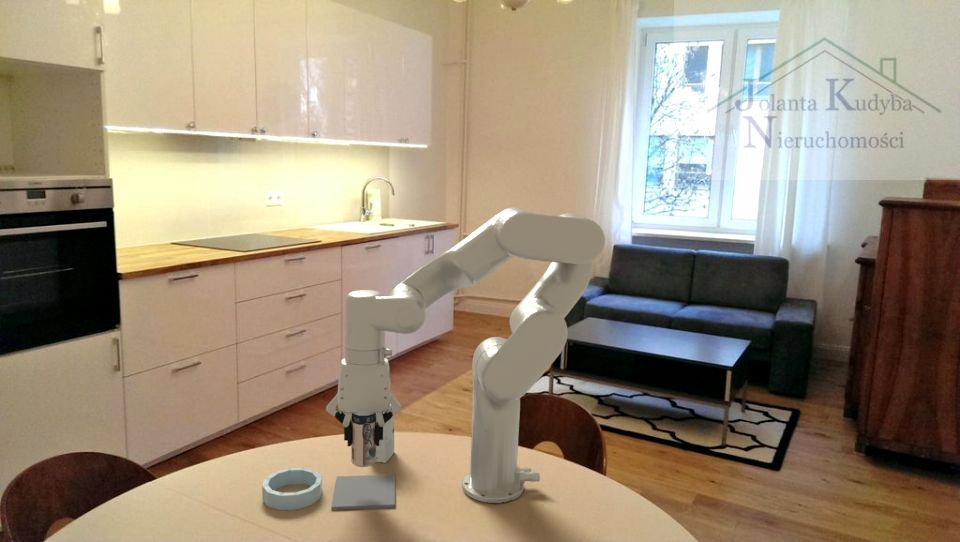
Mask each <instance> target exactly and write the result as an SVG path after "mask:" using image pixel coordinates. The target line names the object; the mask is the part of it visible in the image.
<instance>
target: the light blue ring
mask: <svg viewBox="0 0 960 542" xmlns="http://www.w3.org/2000/svg"><path fill="white" fill-rule="evenodd" d="M288 485H306V486H309V487H308V488H306V489H302V490H299V491H296V492H281V491H277V489H278V488H281V487H284V486H288ZM261 488H262V492H261V493H262V495H261V497H262V501H263V503H264V504H265V505H266V506H267V507H268V508H272V509H275V510H279V511H296V510H300V509H304V508H306V507H309V506H312V505H314V504H315V503H317V501H319V500H320V499H321V498H322V493H323V476H322V475H321V474H320V473H319V472H318V471H317V470H314V469H310V468H306V467H289V468H284V469H281V470H278V471H274V472H273V473H271V474H270V475H268V476H266V477H265V478H264V479H263V483H262V486H261Z"/></svg>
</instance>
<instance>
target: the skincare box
mask: <svg viewBox="0 0 960 542" xmlns="http://www.w3.org/2000/svg"><path fill="white" fill-rule="evenodd" d="M391 408H392V405H391V404H390V408H389V409H391ZM385 412H386V411H385ZM385 412H383V413H385ZM376 422H377V417H376ZM394 452H395V415H394V416H392V418H391V419H390V420H388V421H387V422H386V423H385V425H384V426H383V440H379V446H377V445H376V461H375V463H381V462H382V463H383V464H386V463H387V462H388V461H389V459H391V458H392V456H393V454H394Z"/></svg>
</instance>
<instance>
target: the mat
mask: <svg viewBox="0 0 960 542" xmlns="http://www.w3.org/2000/svg"><path fill="white" fill-rule="evenodd" d="M395 481H396V475H395V474H369V475H341V476H340V475H339V476H338V475H337V476H336V478H335V485H334V488H333V489H334V490H333V496H332V501H331V508H330V509H331V510H332V511H335V510H336V511H337V510H357V509H358V510H359V509H360V510H361V509H362V510H363V509H364V510H365V509H384V508H385V509H386V508H396V482H395Z"/></svg>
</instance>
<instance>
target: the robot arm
mask: <svg viewBox="0 0 960 542" xmlns="http://www.w3.org/2000/svg"><path fill="white" fill-rule="evenodd" d="M605 237H606V236H605V234H604V231H603V229H602V227H601V226H600V225H599V223H597V222H596V221H594V220H593V219H590V218H589V217H586V216H583V215H581V214H577V213H573V212H566V213H563V214H560V215H551V214H542V213H535V212H531V211H527V210H525V209H523V208H519V207H508V208H506V209H503V210H502V211H500V212H499V213H497V214H496V215H494V216H493V217H492V218H490V219H489V220H487V222H485V223H483V224H482V225H481V226H480V227H478V228H477V229H475V230H474V231H473V232H472V233H471V234H469V235H468V236H467V237H465V238H464V239H462V240H461V241H460V242H458V243H457V244H456V245H453V247H451V248H450V249H449V250H446V251H444V252H443V253H442V254H441V255H438V257H436V258H435V259H433V260H431V261H429V262H428V263H426V264H424V265H423V266H422V267H420V268H418V270H416V271H414V272H413V273H412V274H410V275H409V276H408V277H407V278H406V279H404V280H402V281H401V282H400V283H399V284H397V285H396V286H395V287H394V288H393V289H392V290H391V291H390V292H389V294H388V296H385V295H384V294H383V293H382V292H380V291H377V290H372V289H359V290H354V291H351V292H349V293H348V294H347V295H346V297H345V303H344V304H345V307H344V309H345V310H344V311H345V317H344V319H345V320H344V322H345V324H344V333H345V334H344V335H345V336H344V337H345V338H344V358H342V359H341V362H340V366H339V372H338V381H337V382H338V383H337V384H338V385H337V393H336V395H335V396H334V397H333V398H332V399H331V400H330V402H329V403H328V404H327V405H326V408H325V411H326V412H327V413H329V414H330V415H331V416H333V417H335V419H336V420H337V421H338V422H339V423H340V424H341V425H342V426H343V431H344V432H343V440H344V441H347V447H351V444H352V413H358V412H371V413H376V417H377V422H376V445H377V446H379V440H383V426H384V425H385V423H386V422H387V421H388V420H390V419H391V418H392V416H394V417H395V415H397V414H398V413H399V412H401V411H402V404H400V402H399V401H398V400H397V398H396V397H395V396H394V395H393V393H392V391H391V389H392V388H391V384H392V383H391V369H390V362H389V359H388V358H387V357H389V356H392V355H393V349H392V348H388V347H387V346H385V343H386V339H385V338H386V332H387V333H388V332H389V333H394V334H400V335H401V334H403V335H409V334H413V333H416V332H418V331H419V330H420V329H422V328H423V325H425V322H426V318H427V312H426V309H428V308H430V306H432V305H433V304H434V303H436V302H437V301H439V300H440V299H441V298H443V297H445V296H446V295H448V294H449V293H451V292H452V293H453V292H454V291H457V290H460V289H464V288H471V287H474V286H476V285H479V284H480V283H481V282H483V281H484V280H485V279H486V278H488V277H489V276H490V275H492V274H493V273H494V272H496V271H497V270H498V269H500V268H501V267H502V266H505V264H506V263H508V262H509V261H511V260H512V259H513V258H518V259H523V260H531V261H539V262H548V263H549V264H548V267H547V269H546V270H545V271H544V273H543V275H541V278H539V280H538V281H537V282H536V283H535V284H534V286H533V287H532V288H531V289H530V291H528V292H527V294H526V295H525V296H524V298H523V299H522V300H521V301H520V302H519V303H518V304H517V306H516V307H515V308H514V309H513V310H512V312H511V315H510V317H509V327H510V331H511V334H510V335H509V337H508V338H507V339H506V338H504V337H503V336H493V337H492V336H491V337H488V338H487V339H484V340H482V341H481V342H480V343H479V345H477V346H476V349H475V350H474V353H473V357H472V364H471V374H472V377H471V379H472V412H471V413H472V414H471V416H472V417H471V440H470V441H471V442H470V443H471V445H470V467H469V468H470V472H469V473H468V474H467V475H465V476H464V477H463V479H462V484H461V485H462V490H463V492H464V493H465V494H466V496H468V497H469V498H472V499H474V500H476V501H477V502H478V501H479V502H482V503H487V502H488V504H489V503H490V504H503V503H502V502H504V503H508V501H509V502H511V501H510V500H512V501H514V500H516V499H517V498H519V497H520V496H522V494H523V492H524V489H525V487H524V485H525V483H526V482H531V483H534V482H540V480H541V474H540V472H539V471H532V468H531V467H520V466H519V465H518V454H519V453H518V450H519V434H520V433H519V431H520V429H519V428H520V415H521V414H520V412H521V398H522V397H523V396H525V394H526V393H528V392H529V391H530V390H531V388H533V386H534V385H536V383H537V382H538V380H540V378H541V377H542V376H543V374H544V373H546V372H547V370H548V369H549V368H550V367H551V365H552V364H553V363H554V362H555V361H556V359H557V358H558V357H559V355H561V352H562V351H563V349H564V348H565V345H566V343H567V340H568V334H569V333H568V332H569V331H568V326H567V322H566V320H565V318H566V317H567V315H568V314H569V313H570V311H572V309H573V308H574V306H575V305H576V304H577V303H578V301H579V300H580V299H581V298H582V296H583V294H584V293H585V291H586V289H587V287H588V286H589V283H590V281H591V278H592V272H593V261H594V260H596V259H597V258H598V257H600V255H601V254H602V253H603V251H604V248H605V243H606V238H605ZM390 404H391V405H392V408H391V409H389V408H390ZM385 411H386V412H385ZM383 412H385V413H383ZM513 499H514V500H513Z"/></svg>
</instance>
